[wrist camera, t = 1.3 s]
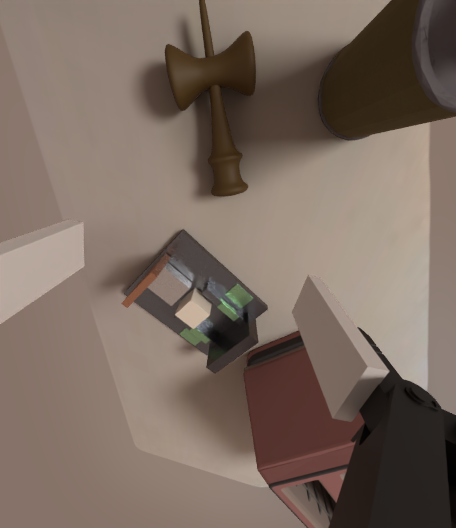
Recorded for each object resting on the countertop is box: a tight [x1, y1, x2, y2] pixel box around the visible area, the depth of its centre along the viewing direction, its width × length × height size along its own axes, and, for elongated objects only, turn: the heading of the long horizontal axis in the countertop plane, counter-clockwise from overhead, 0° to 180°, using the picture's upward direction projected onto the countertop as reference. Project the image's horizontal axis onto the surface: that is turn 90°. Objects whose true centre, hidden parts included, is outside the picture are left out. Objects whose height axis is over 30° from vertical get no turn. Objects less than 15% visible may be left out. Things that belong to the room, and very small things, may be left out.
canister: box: [318, 0, 456, 140], centre depth 19 cm, size 11×10×20 cm
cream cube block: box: [175, 288, 212, 329], centre depth 38 cm, size 4×4×4 cm
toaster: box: [244, 331, 364, 528], centre depth 41 cm, size 19×34×20 cm, turn 30°
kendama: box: [165, 0, 256, 196], centre depth 28 cm, size 6×10×20 cm
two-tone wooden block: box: [122, 254, 192, 308], centre depth 35 cm, size 6×7×7 cm
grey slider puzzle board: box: [124, 230, 268, 373], centre depth 38 cm, size 20×16×7 cm
